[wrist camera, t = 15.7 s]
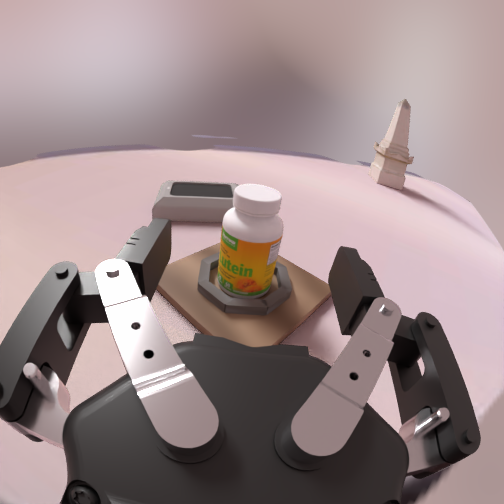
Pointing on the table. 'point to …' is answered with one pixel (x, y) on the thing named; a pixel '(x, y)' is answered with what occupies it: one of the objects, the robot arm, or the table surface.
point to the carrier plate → (241, 300)
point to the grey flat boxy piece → (194, 201)
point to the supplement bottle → (250, 241)
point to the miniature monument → (393, 151)
